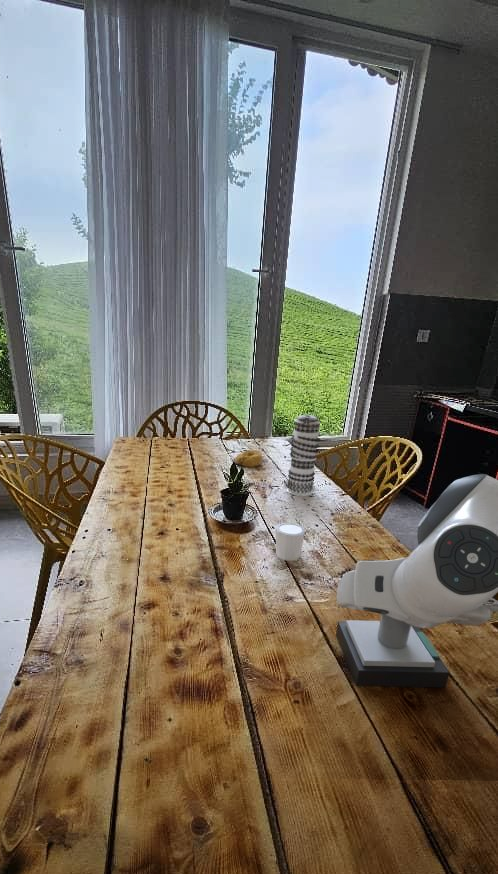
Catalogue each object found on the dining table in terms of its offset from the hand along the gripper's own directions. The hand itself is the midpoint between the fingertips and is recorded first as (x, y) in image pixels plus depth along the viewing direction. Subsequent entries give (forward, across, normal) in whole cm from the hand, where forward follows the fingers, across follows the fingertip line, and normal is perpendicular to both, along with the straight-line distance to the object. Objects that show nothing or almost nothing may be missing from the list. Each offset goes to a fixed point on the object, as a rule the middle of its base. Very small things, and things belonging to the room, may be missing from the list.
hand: (396, 610), depth 71 cm
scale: (+6, 0, +7) cm, 9 cm away
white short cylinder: (+29, +18, -15) cm, 37 cm away
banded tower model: (+61, +16, -48) cm, 79 cm away
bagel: (+79, +37, -65) cm, 109 cm away
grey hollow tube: (+4, 0, +4) cm, 6 cm away
